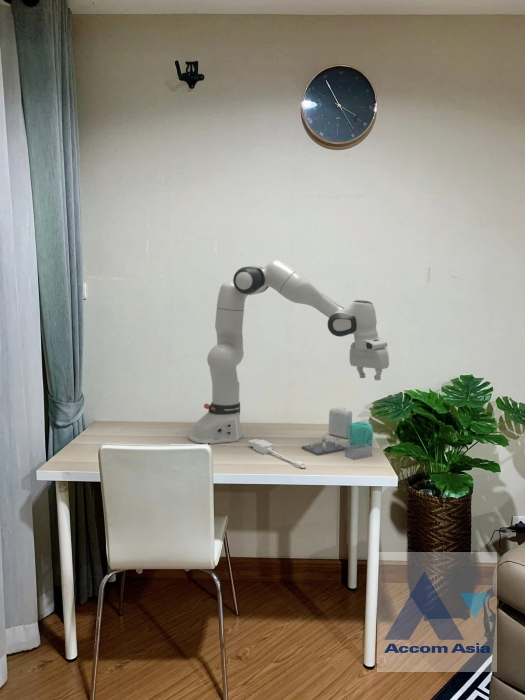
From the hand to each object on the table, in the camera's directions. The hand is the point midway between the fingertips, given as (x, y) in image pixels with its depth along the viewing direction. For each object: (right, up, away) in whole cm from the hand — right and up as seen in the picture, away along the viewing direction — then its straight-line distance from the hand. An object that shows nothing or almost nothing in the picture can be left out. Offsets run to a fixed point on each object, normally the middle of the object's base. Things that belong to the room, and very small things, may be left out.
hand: (370, 379), depth 231 cm
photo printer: (-8, -25, +25) cm, 36 cm away
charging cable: (-36, -29, -5) cm, 46 cm away
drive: (-5, -29, -3) cm, 29 cm away
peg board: (-17, -28, +5) cm, 33 cm away
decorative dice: (-1, -27, +14) cm, 30 cm away
